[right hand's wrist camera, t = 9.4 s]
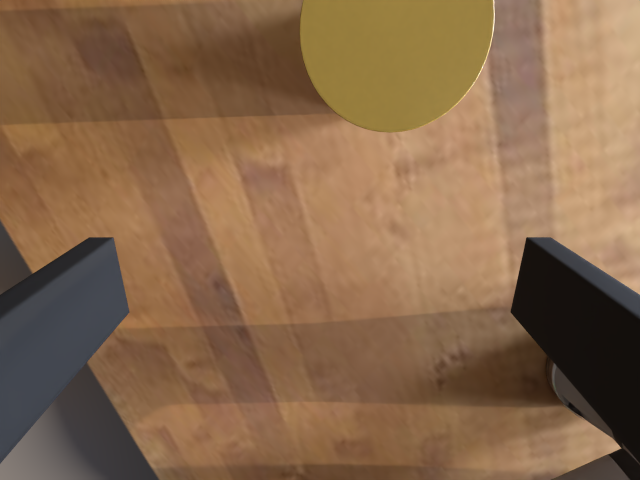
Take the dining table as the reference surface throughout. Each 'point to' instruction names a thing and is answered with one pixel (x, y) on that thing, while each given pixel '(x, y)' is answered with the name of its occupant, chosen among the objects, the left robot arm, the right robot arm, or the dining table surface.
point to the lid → (394, 57)
